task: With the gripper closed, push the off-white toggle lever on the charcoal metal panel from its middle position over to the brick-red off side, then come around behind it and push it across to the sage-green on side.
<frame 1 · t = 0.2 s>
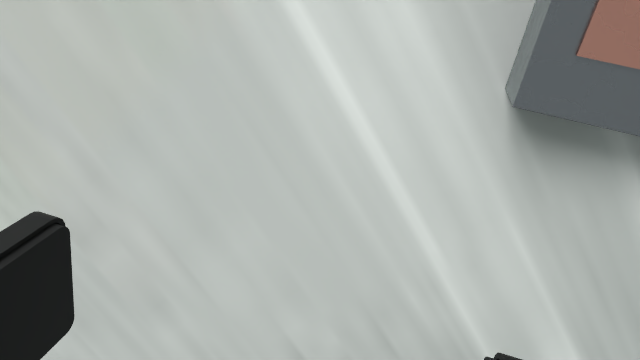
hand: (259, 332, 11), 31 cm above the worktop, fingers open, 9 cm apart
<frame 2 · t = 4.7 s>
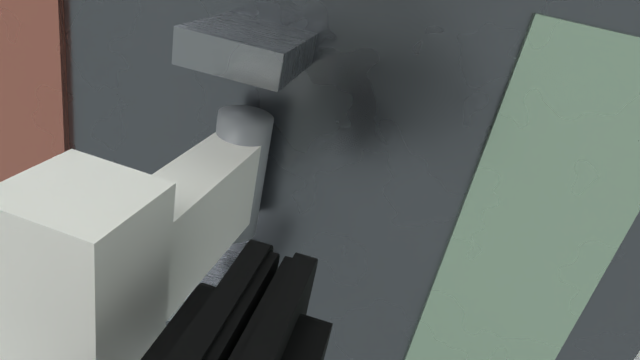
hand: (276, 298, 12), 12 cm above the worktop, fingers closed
toggle lever: (177, 230, 13), point 10 cm above the worktop, hinge at -2.8°, touching gripper
breaker panel: (290, 121, 22), on the worktop
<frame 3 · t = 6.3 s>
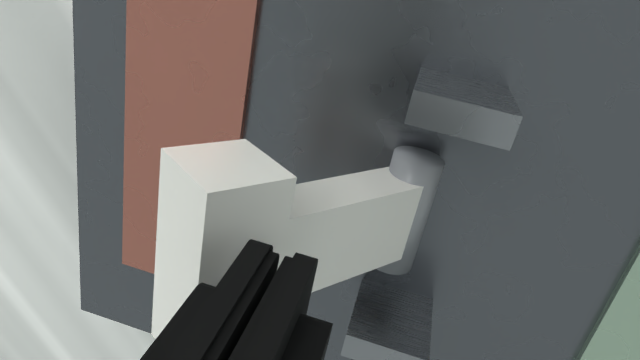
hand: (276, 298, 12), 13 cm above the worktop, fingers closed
toggle lever: (320, 234, 16), point 9 cm above the worktop, hinge at -36.9°
breaker panel: (429, 159, 23), on the worktop
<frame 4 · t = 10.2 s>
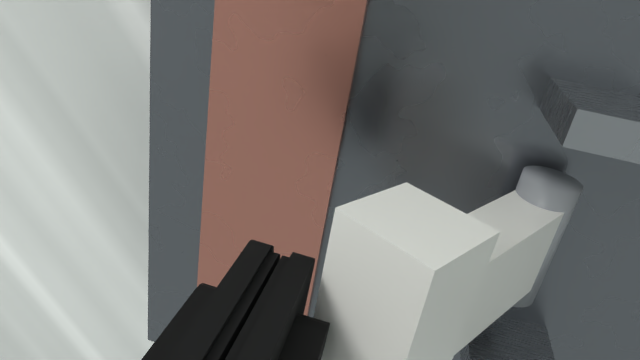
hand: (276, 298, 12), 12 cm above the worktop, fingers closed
toggle lever: (467, 277, 14), point 9 cm above the worktop, hinge at -32.1°, touching gripper
breaker panel: (524, 172, 22), on the worktop
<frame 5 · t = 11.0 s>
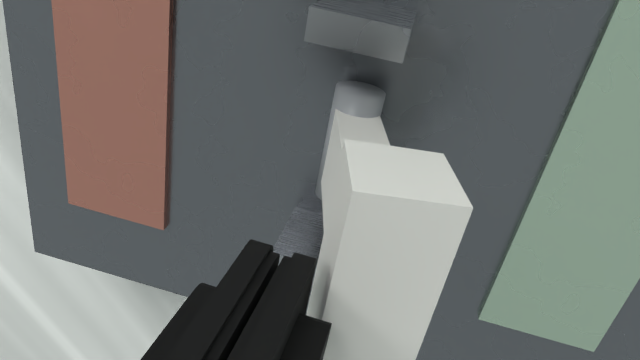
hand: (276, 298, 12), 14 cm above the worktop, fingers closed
toggle lever: (358, 199, 15), point 10 cm above the worktop, hinge at 14.0°, touching gripper
breaker panel: (363, 95, 24), on the worktop
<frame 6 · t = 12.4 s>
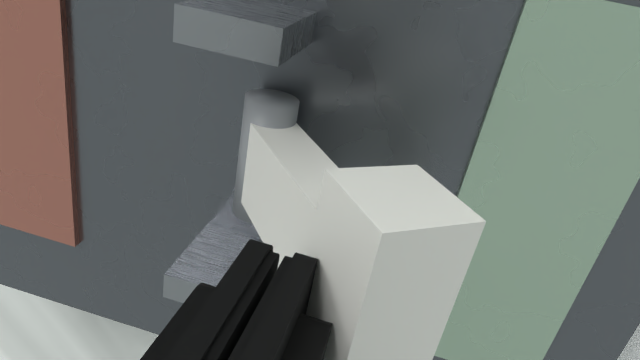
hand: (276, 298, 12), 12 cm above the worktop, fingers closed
toggle lever: (308, 219, 14), point 9 cm above the worktop, hinge at 37.5°, touching gripper
breaker panel: (291, 105, 23), on the worktop
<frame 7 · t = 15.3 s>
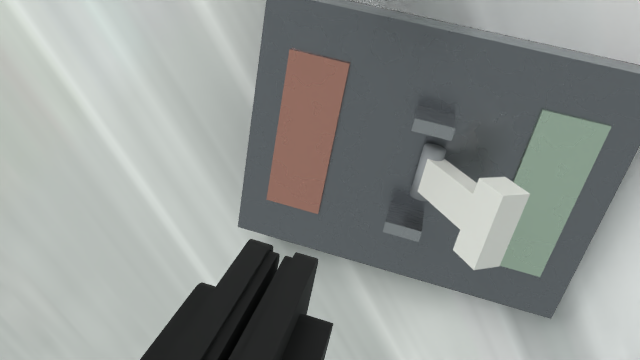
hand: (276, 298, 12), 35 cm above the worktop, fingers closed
toggle lever: (457, 196, 37), point 9 cm above the worktop, hinge at 37.6°
breaker panel: (422, 145, 46), on the worktop
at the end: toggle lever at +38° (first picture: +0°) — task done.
